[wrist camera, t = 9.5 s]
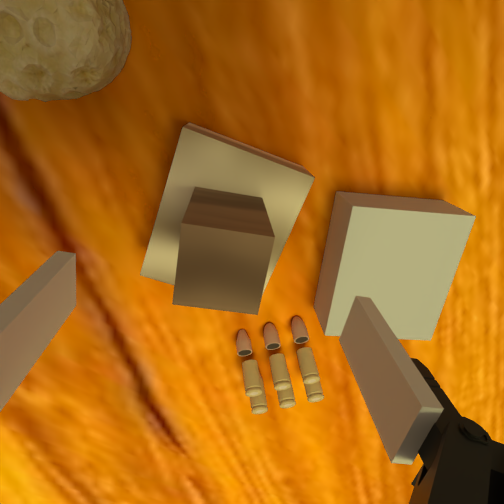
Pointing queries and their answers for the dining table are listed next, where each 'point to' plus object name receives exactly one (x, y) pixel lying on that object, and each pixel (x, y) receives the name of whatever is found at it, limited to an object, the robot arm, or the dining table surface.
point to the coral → (61, 47)
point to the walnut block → (223, 252)
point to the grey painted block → (390, 260)
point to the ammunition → (279, 368)
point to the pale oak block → (223, 179)
